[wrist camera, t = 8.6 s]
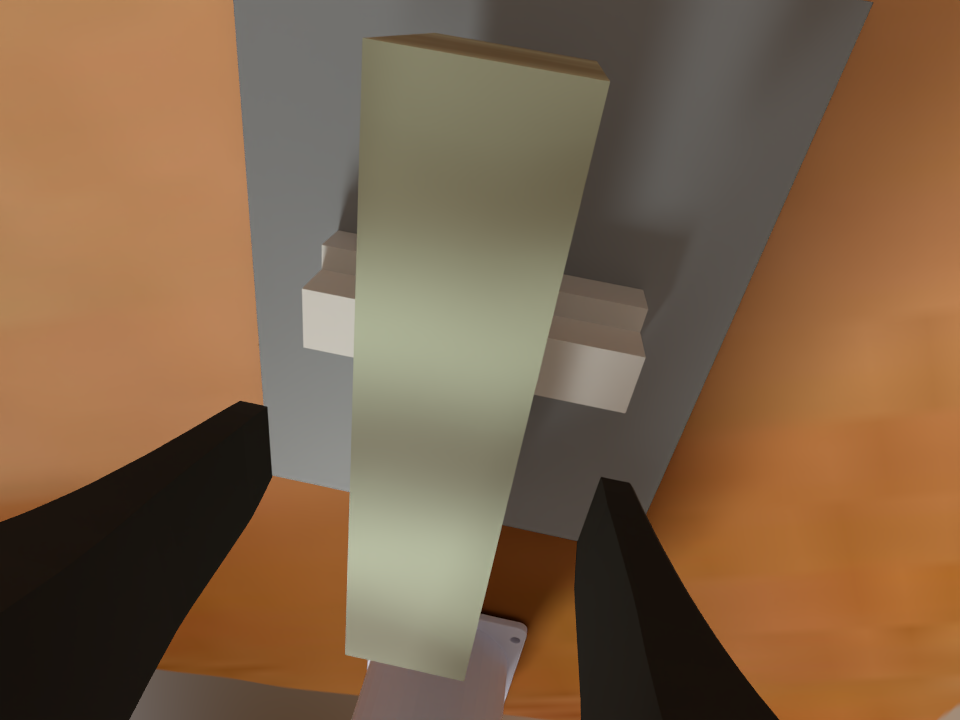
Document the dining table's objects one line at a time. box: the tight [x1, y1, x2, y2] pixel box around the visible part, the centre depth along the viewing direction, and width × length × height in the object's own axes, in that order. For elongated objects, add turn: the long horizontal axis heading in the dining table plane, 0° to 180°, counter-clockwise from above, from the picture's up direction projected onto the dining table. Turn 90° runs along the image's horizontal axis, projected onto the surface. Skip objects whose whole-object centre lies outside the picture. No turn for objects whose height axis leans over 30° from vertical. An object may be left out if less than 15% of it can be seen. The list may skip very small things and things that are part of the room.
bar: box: [345, 33, 610, 681], centre depth 14 cm, size 16×4×5 cm, turn 172°
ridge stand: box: [233, 0, 873, 541], centre depth 18 cm, size 20×16×4 cm
